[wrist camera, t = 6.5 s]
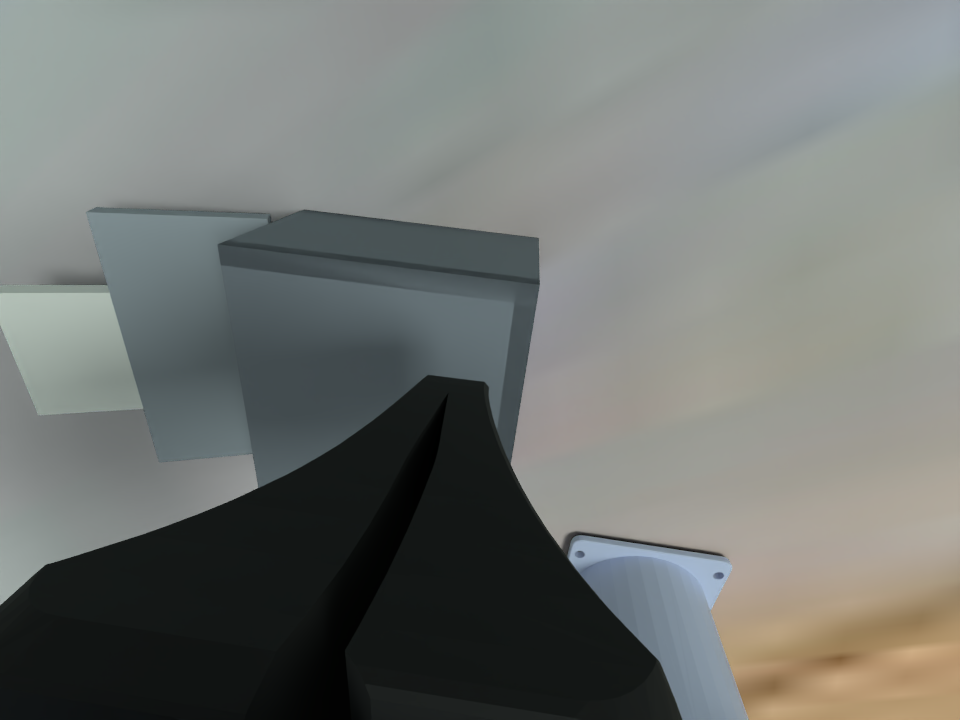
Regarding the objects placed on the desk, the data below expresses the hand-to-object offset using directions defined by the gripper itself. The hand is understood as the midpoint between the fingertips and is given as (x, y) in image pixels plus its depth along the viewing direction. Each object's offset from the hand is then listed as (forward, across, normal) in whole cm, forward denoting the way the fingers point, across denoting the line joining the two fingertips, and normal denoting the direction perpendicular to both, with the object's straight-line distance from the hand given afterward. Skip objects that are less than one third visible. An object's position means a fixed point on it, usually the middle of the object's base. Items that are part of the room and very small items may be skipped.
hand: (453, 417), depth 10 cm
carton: (+9, +3, +4) cm, 10 cm away
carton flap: (+9, +9, +3) cm, 13 cm away
